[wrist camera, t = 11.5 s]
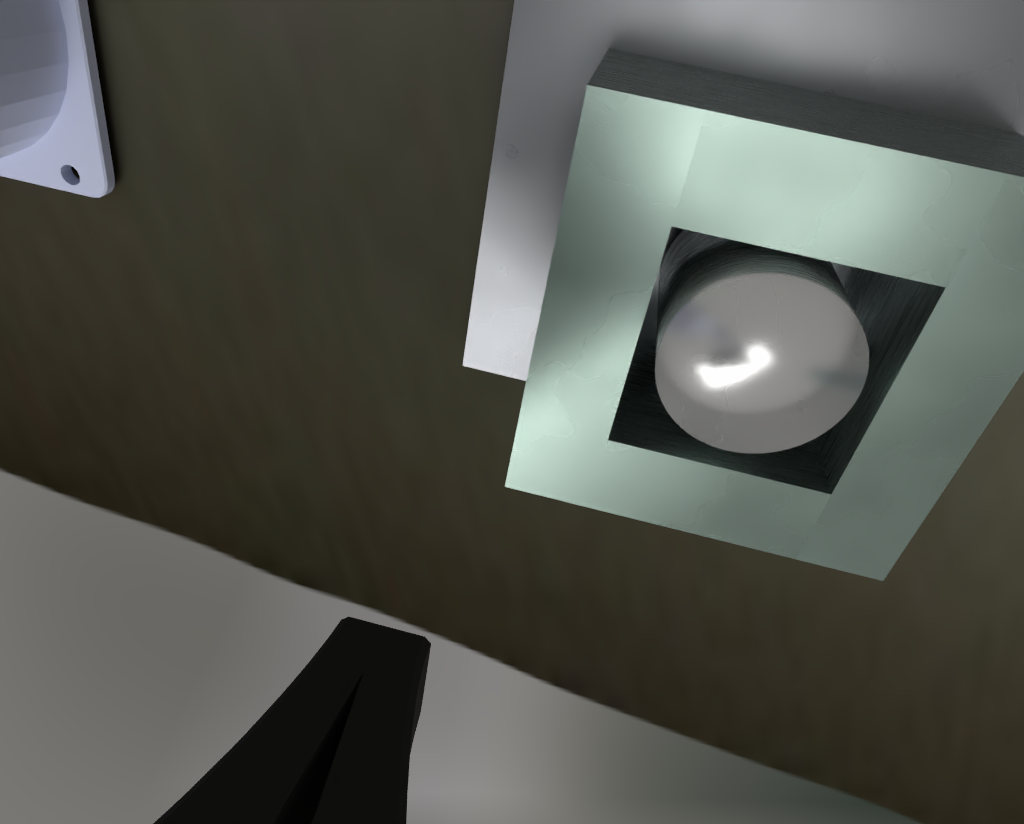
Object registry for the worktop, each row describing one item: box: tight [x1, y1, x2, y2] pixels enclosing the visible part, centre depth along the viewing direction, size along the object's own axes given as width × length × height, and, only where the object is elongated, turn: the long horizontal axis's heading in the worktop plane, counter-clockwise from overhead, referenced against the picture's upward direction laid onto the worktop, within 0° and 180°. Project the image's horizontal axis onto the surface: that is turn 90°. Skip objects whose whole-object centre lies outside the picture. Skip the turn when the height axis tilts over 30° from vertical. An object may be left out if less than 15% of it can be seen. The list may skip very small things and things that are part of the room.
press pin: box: [655, 229, 869, 454], centre depth 14 cm, size 4×4×4 cm
